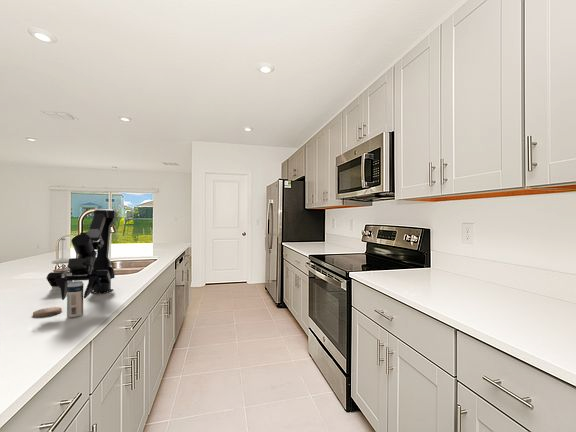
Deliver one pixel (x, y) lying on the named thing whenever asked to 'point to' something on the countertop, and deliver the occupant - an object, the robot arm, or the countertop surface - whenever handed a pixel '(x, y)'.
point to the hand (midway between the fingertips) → (73, 298)
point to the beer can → (75, 299)
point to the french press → (61, 270)
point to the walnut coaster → (47, 312)
